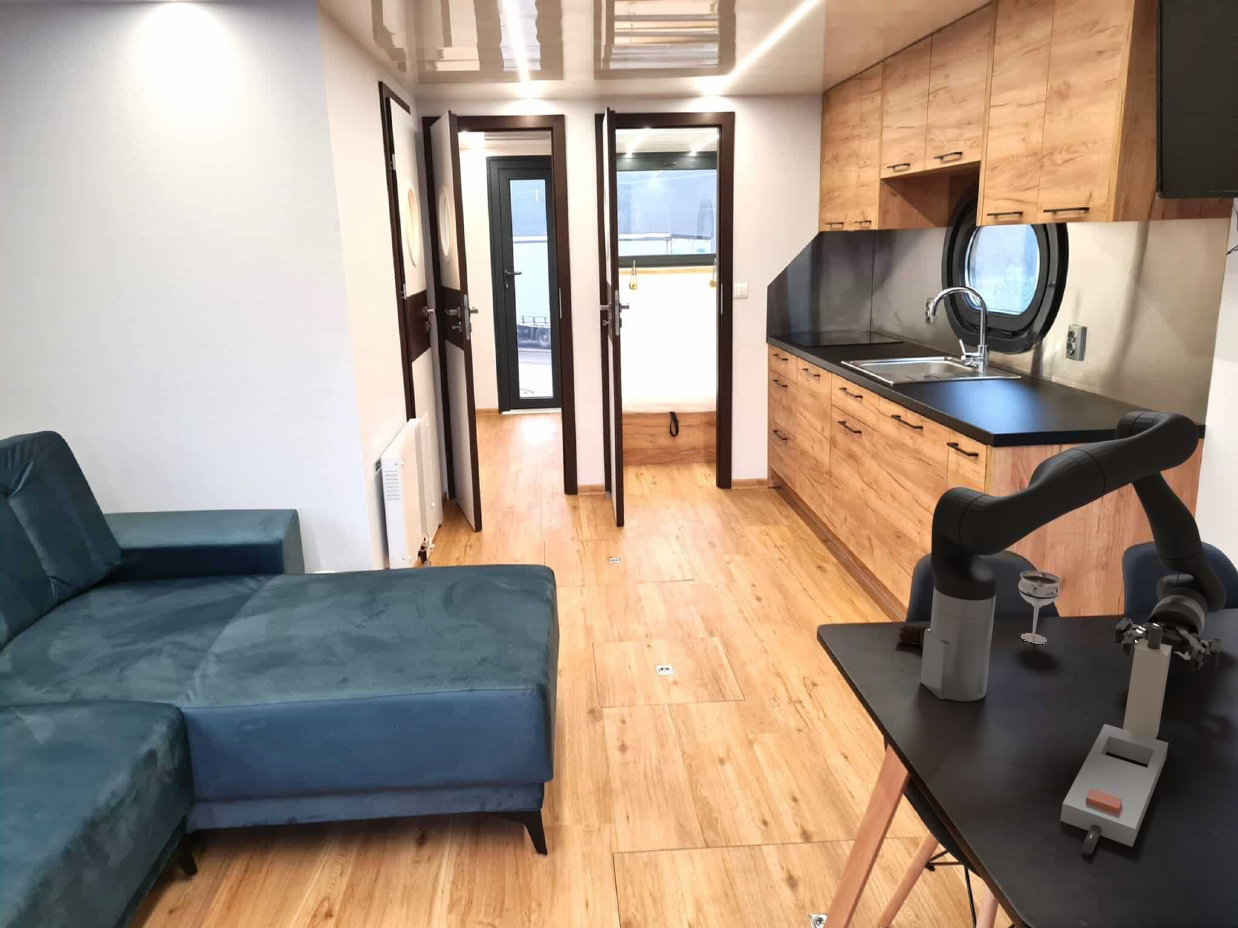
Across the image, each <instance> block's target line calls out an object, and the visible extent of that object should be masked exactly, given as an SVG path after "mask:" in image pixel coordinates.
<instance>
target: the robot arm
mask: <svg viewBox="0 0 1238 928" xmlns="http://www.w3.org/2000/svg"><path fill="white" fill-rule="evenodd" d="M1199 441H1200V432H1199V428H1198V426H1197V424H1196V423H1195V422H1194V421H1193V419H1191V418H1190V417H1188V416H1186V415H1184V414H1180V413H1177V412H1166V411H1145V410H1136V411H1130V412H1128V413H1126V414H1124V415H1122V417H1121V418H1120V419H1119V420H1118V422H1117V425H1116V427H1115V432H1114V439H1113V440H1112V439H1111V440H1104V441H1099V442H1098V441H1097V442H1091V443H1086V444H1082V445H1078V446H1074V447H1071V448H1068V449H1066V450H1063V451H1061V452H1059V453H1056V454H1054V455H1051V456H1049V457H1048V458H1046V459H1045V460H1043V461H1041V462H1040V463H1038V465H1037V466H1036V468H1035V469H1034V470H1033V473H1032V475H1031V477H1030V479H1029V482H1028V486H1027V487H1024V488H1023V489H1021V490H1019V491H1017V492H1015V493H1012V494H1008V495H1005V496H994V495H990V494H988V493H984V492H981V491H979V490H978V491H977V490H975V489H971V488H969V487H963V486H956V487H952V488H949V489H947V490H946V491H945V492H943V494H942V495H941V496H940V498H939V499H938V501H937V502H936V504H935V508H934V509H933V510H934V511H933V515H932V520H931V521H932V522H931V538H930V539H931V545H930V548H931V549H930V550H931V551H930V568H931V572H932V574H933V577H934V578H933V579H934V580H933V583H934V584H933V594H932V596H933V597H932V604H931V605H932V607H931V615H930V616H931V617H930V623H931V627H930V629H926V630H925V634H924V646H923V649H922V657H921V658H922V660H921V671H920V672H921V673H920V683H921V684H922V685H924V686H925V688H927V689H928V691H930V692H931V693H932V694H933V695H934V696H935V697H937V698H938V699H939V700H951V701H954V702H956V701H957V702H975V701H979V700H982V699H983V698H984V697H985V696H986V694H987V687H988V676H989V666H990V658H991V657H990V656H991V648H992V647H991V645H992V637H993V628H994V627H993V626H994V619H995V618H994V615H995V608H996V607H995V606H996V600H997V599H996V598H997V590H998V589H997V588H998V578H997V575H996V574H995V573H994V571H993V570H992V569H991V568H990V567H989V566H988V565H987V564H986V563H985V561H983V559H982V557H981V556H993V555H996V554H999V553H1001V552H1003V551H1005V550H1007V549H1008V548H1010V547H1012V546H1013V545H1014V544H1016V543H1018V542H1019V541H1021V540H1022V539H1024V538H1025V537H1028V536H1029V535H1031V534H1032V533H1033V532H1035V531H1036V530H1038V529H1040V528H1041V527H1043V526H1045V525H1047V524H1049V523H1050V522H1051V523H1052V521H1054V520H1057V519H1059V518H1061V517H1062V516H1065V515H1066V514H1068V513H1071V512H1073V511H1075V510H1077V509H1080V508H1082V507H1084V506H1087V505H1088V504H1091V503H1093V502H1095V501H1097V500H1099V499H1100V498H1102V497H1103V498H1104V496H1106V495H1108V494H1111V493H1113V492H1115V491H1117V490H1120V489H1121V488H1124V487H1126V486H1128V485H1130V484H1131V485H1132V488H1133V489H1134V492H1135V493H1136V495H1137V497H1138V499H1139V502H1140V504H1141V506H1142V508H1143V510H1144V512H1145V514H1146V518H1147V521H1148V524H1149V527H1150V530H1151V533H1152V539H1153V542H1154V545H1155V549H1156V553H1157V558H1158V560H1159V563H1160V565H1161V566H1162V567H1163V568H1164V569H1165V570H1168V571H1172V572H1176V573H1182V574H1167V575H1166V576H1163V577H1161V578H1160V579H1159V580H1158V581H1157V584H1156V597H1157V598H1156V599H1157V600H1158V601H1157V602H1158V603H1157V604H1156V606H1154V608H1153V610H1152V611H1151V613H1150V616H1149V617H1148V619H1147V621H1146V622H1145V623H1143V624H1142V623H1141V625H1139V624H1134V622H1133V621H1132V619H1131V618H1129V617H1123V618H1122V619H1121V621H1119V623H1118V624H1117V625H1116V626H1115V627H1114V634H1113V642H1114V643H1115V644H1119V645H1120V644H1121V652H1124V656H1128V657H1131V654H1132V653H1133V651H1135V647H1136V645H1137V644H1138V642H1139V640H1140V639H1144V640H1148V636H1149V630H1150V626H1152V625H1155V626H1159V627H1162V628H1163V632H1162V638H1161V644H1165V645H1169V646H1172V648H1171V654H1177V655H1179V656H1180V657H1181V658H1183V659H1184V660H1186V661H1187V660H1188V661H1189V665H1188V669H1187V670H1188V672H1192V673H1193V672H1195V670H1196V671H1199V670H1201V667H1202V665H1204V663H1205V664H1207V665H1208V666H1209V667H1211V668H1212V667H1214V668H1217V667H1218V665H1219V658H1220V653H1221V647H1222V646H1221V645H1222V639H1220V638H1218V637H1213V638H1211V639H1209V640H1204V639H1201V635H1202V633H1203V631H1204V626H1205V621H1206V618H1207V615H1208V614H1215V613H1219V612H1220V611H1221V610H1222V609H1223V608H1224V606H1225V605H1226V602H1227V592H1226V588H1225V587H1224V584H1223V582H1222V581H1221V578H1220V577H1219V576H1218V574H1217V573H1216V571H1215V570H1214V568H1213V566H1211V563H1210V562H1209V560H1208V558H1207V557H1206V554H1205V551H1204V547H1203V543H1202V539H1201V536H1200V535H1201V534H1200V530H1199V528H1198V525H1197V521H1196V519H1195V518H1194V515H1193V514H1192V512H1191V511H1190V510H1189V509H1188V507H1187V506H1186V505H1185V503H1184V502H1183V501H1182V500H1181V499H1180V497H1179V496H1178V495H1177V494H1176V493H1175V492H1174V491H1173V489H1172V488H1171V487H1170V485H1169V484H1168V483H1167V481H1166V479H1165V478H1164V477H1163V474H1162V472H1164V471H1167V470H1171V469H1173V468H1176V467H1178V466H1181V465H1183V464H1184V463H1185V462H1187V461H1188V460H1189V459H1190V458H1191V457H1192V456H1193V455H1194V453H1195V452H1196V450H1197V447H1198V445H1199Z"/></svg>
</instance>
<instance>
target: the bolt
mask: <svg viewBox="0 0 1238 928" xmlns="http://www.w3.org/2000/svg"><path fill="white" fill-rule="evenodd" d="M930 627H931V621H922V622H920V626H918V625H907V624H904V625H902V626H900V627H899V631H900V633H899V641H900V643H911V644H919V648H920V647H921V650H923V646H924V634H925V630H926V629H930Z"/></svg>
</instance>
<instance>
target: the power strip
mask: <svg viewBox="0 0 1238 928" xmlns="http://www.w3.org/2000/svg"><path fill="white" fill-rule="evenodd" d="M1168 747H1169V742H1167V741H1163V740H1160V739H1157V738H1156V739H1154V738H1151V737H1147V736H1144V735H1140V734H1137V733H1134V732H1130V731H1127V730H1123V728H1119V727H1116V726H1113V725H1110V724H1106V723H1104V724H1103V726H1102V728H1101V730H1100V732H1099V734H1098V736H1097V738H1096V740H1095V742H1094V743H1093V745H1092V747H1091V750H1090V751H1089V752H1088V755H1087V757H1086V759H1085V760H1084V763H1083V764H1082V766H1081V768H1080V769H1079V771H1078V773H1077V775H1076V777H1075V779H1074V781H1073V783H1072V785H1071V787H1070V789H1069V791H1068V792H1067V794H1066V797H1065V798H1064V800H1063V802H1062V806H1061V813H1060V819H1059V820H1060V822H1063V823H1065V824H1068V825H1071V826H1074V827H1076V828H1079V829H1082V830H1085V831H1087V832H1088V833H1087V834H1086V837H1085V838H1084V841H1083V843H1082V845H1081V848H1080V851H1081V852H1082V853H1083V854H1084V855H1086V856H1091V855H1092V854H1093V852H1094V850H1095V847H1096V845H1097V843H1098V840H1099V839H1100V837H1101V836H1102V837H1104V838H1107V839H1110V840H1112V841H1115V842H1118V843H1121V844H1123V845H1126V846H1129V847H1130V848H1131V847H1133V846H1134V844H1135V841H1136V838H1137V836H1138V834H1139V831H1140V828H1141V825H1142V822H1143V819H1144V817H1145V814H1146V813H1147V810H1148V807H1149V804H1150V801H1151V799H1152V796H1153V794H1154V791H1155V788H1156V785H1157V783H1158V780H1159V778H1160V775H1161V773H1162V770H1163V767H1164V765H1165V762H1166V760H1167V755H1168V754H1167V752H1168ZM1107 753H1110V754H1114V755H1116V756H1119V757H1122V758H1126V759H1128V760H1133V761H1136V762H1139V763H1142V764H1145V765H1147V767H1146V766H1142V765H1138V764H1135V763H1132V762H1129V761H1126V760H1123V759H1119V758H1116V757H1113V756H1110V755H1107Z"/></svg>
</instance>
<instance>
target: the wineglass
mask: <svg viewBox="0 0 1238 928" xmlns="http://www.w3.org/2000/svg"><path fill="white" fill-rule="evenodd" d="M1019 576H1020V577H1021V579H1020V581H1019V583H1018V589H1017V590H1018V591H1019V593H1020V596H1021V597H1022V599H1024V600H1025V601H1026V602H1027V603H1029V604H1031V606H1032V607H1033V621H1032V622H1033V624H1032V632H1031V633H1029V632H1027V633H1025V632H1024V633H1025V634H1023V633H1021V634H1022V635H1021V638H1022V639H1025V640H1024V641H1028V642H1032V643H1035V644H1042V643H1043V644H1044V645H1046V644H1045V643H1044V642H1047V640H1048V639H1047V638H1046V637H1044V636H1043V637H1042V635H1040V634H1036V631H1037V630H1036V629H1037V624H1038V623H1037V622H1038V618H1039V610H1040V608H1042V607H1043V606H1047V605H1049V604H1051V603H1053V602H1055V601H1056V600H1057V599H1058V598H1059V594H1060V591H1061V589H1060V586H1059V584H1060V583H1061V581H1062V580H1061V578H1060V577H1059V576H1058V575H1055V574H1053V573H1050V572H1045V571H1040V570H1027V571H1026V570H1025V571H1022V572H1020V574H1019ZM1046 639H1047V640H1046Z"/></svg>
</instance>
